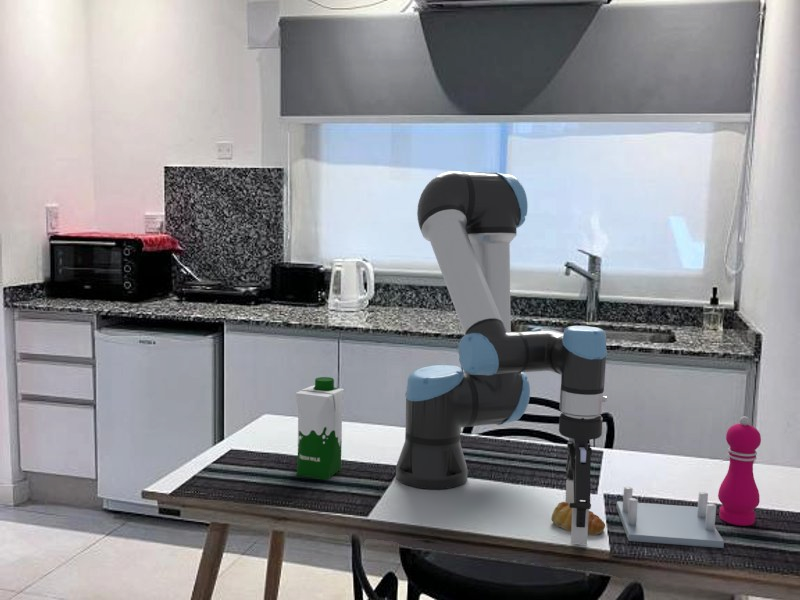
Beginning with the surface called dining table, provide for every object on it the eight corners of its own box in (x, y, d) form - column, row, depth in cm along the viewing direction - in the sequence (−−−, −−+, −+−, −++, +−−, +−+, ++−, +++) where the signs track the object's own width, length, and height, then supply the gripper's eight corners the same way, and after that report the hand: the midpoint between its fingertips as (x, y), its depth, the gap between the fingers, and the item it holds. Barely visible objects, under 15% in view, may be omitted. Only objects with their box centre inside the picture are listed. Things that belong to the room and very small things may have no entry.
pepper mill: (709, 512, 157) (717, 411, 155) (745, 512, 158) (753, 411, 156) (727, 527, 150) (735, 421, 148) (765, 526, 151) (774, 421, 148)
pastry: (611, 530, 148) (612, 510, 148) (593, 541, 143) (594, 520, 143) (565, 516, 154) (566, 496, 154) (547, 526, 149) (547, 506, 149)
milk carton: (346, 469, 177) (348, 379, 174) (327, 482, 168) (328, 387, 166) (310, 463, 180) (311, 374, 177) (290, 476, 172) (290, 383, 169)
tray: (628, 540, 143) (630, 509, 142) (616, 507, 159) (618, 478, 158) (723, 547, 141) (726, 516, 140) (701, 513, 157) (703, 484, 156)
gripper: (611, 433, 133) (605, 558, 135) (594, 398, 157) (589, 504, 160) (564, 431, 133) (558, 555, 136) (555, 396, 158) (550, 501, 161)
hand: (575, 528), depth 148 cm, fingers open, 13 cm apart
